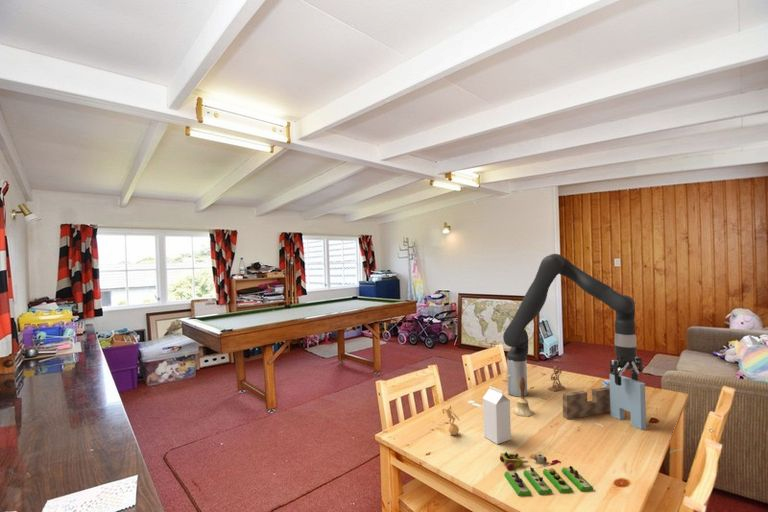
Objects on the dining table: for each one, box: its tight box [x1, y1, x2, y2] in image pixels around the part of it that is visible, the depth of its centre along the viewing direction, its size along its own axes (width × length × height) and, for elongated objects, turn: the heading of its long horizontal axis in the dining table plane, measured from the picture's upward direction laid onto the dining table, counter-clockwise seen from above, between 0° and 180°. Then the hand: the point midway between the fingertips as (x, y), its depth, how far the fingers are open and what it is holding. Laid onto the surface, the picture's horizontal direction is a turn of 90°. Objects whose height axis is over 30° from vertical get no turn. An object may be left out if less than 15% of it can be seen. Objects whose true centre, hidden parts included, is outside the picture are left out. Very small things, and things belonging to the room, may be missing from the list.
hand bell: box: [512, 376, 534, 417], centre depth 163 cm, size 8×8×16 cm
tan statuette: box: [547, 365, 566, 393], centre depth 190 cm, size 9×4×12 cm, turn 120°
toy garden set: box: [499, 451, 594, 497], centre depth 118 cm, size 23×19×5 cm
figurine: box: [441, 404, 460, 436], centre depth 145 cm, size 8×6×12 cm
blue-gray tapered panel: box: [609, 373, 647, 431], centre depth 152 cm, size 14×2×18 cm, turn 16°
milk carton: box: [482, 385, 512, 445], centre depth 141 cm, size 7×7×19 cm
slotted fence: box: [562, 387, 611, 420], centre depth 160 cm, size 26×2×10 cm, turn 105°
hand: (626, 383), depth 152 cm, fingers open, 8 cm apart
